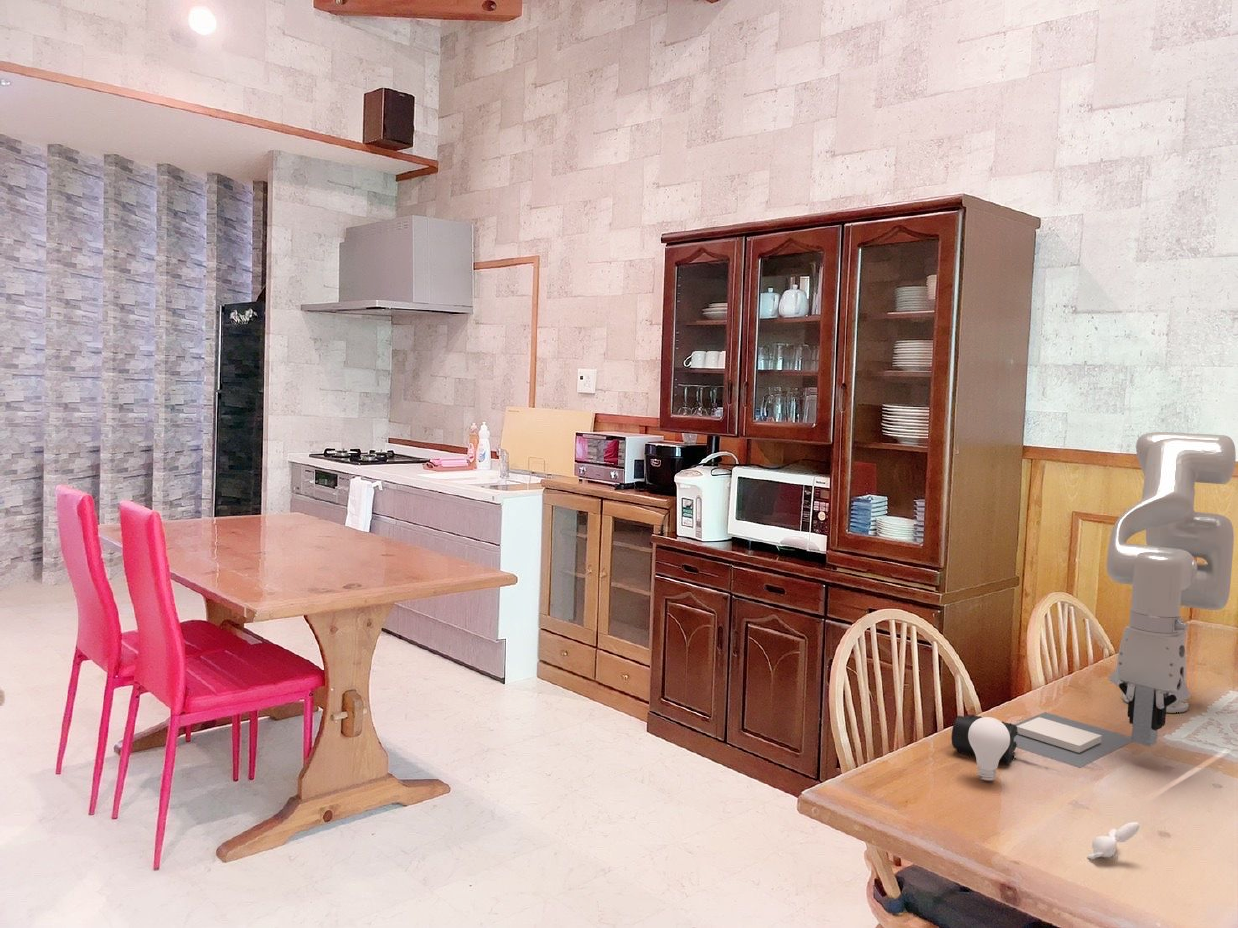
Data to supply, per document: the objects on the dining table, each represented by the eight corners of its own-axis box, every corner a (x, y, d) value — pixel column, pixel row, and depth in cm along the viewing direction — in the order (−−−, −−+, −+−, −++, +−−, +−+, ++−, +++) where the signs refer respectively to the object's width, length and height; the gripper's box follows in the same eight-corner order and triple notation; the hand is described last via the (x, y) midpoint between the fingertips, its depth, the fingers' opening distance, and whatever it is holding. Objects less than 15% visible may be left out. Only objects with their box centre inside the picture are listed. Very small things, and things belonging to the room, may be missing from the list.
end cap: (949, 755, 172) (952, 719, 172) (962, 744, 178) (964, 709, 177) (1007, 770, 166) (1009, 733, 166) (1017, 758, 172) (1020, 722, 171)
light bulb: (987, 792, 157) (992, 727, 156) (956, 776, 162) (960, 714, 162) (1015, 785, 160) (1020, 721, 159) (984, 770, 166) (988, 709, 165)
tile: (1039, 717, 187) (1016, 726, 181) (1101, 735, 178) (1079, 745, 172) (1038, 724, 187) (1015, 734, 181) (1101, 743, 178) (1079, 754, 172)
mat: (1044, 716, 195) (1045, 712, 195) (1137, 743, 181) (1137, 738, 181) (983, 741, 180) (983, 736, 179) (1079, 773, 166) (1079, 767, 166)
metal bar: (1138, 738, 170) (1143, 672, 169) (1156, 743, 167) (1162, 676, 166) (1131, 741, 168) (1136, 674, 167) (1149, 746, 165) (1155, 679, 165)
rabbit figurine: (1072, 850, 137) (1109, 819, 140) (1091, 875, 136) (1128, 843, 138) (1095, 846, 132) (1132, 814, 134) (1115, 872, 131) (1152, 838, 133)
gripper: (1213, 630, 162) (1204, 735, 163) (1114, 611, 175) (1107, 708, 176) (1197, 636, 157) (1188, 744, 159) (1096, 616, 170) (1088, 716, 171)
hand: (1145, 724), depth 167 cm, fingers closed on metal bar, 3 cm apart
